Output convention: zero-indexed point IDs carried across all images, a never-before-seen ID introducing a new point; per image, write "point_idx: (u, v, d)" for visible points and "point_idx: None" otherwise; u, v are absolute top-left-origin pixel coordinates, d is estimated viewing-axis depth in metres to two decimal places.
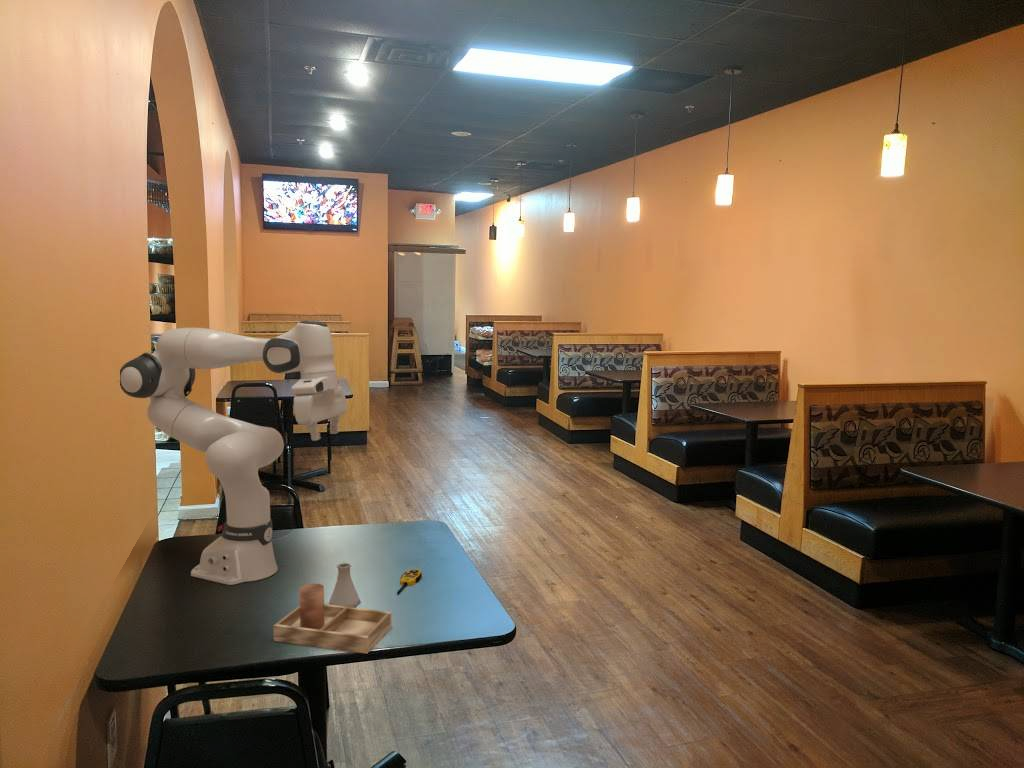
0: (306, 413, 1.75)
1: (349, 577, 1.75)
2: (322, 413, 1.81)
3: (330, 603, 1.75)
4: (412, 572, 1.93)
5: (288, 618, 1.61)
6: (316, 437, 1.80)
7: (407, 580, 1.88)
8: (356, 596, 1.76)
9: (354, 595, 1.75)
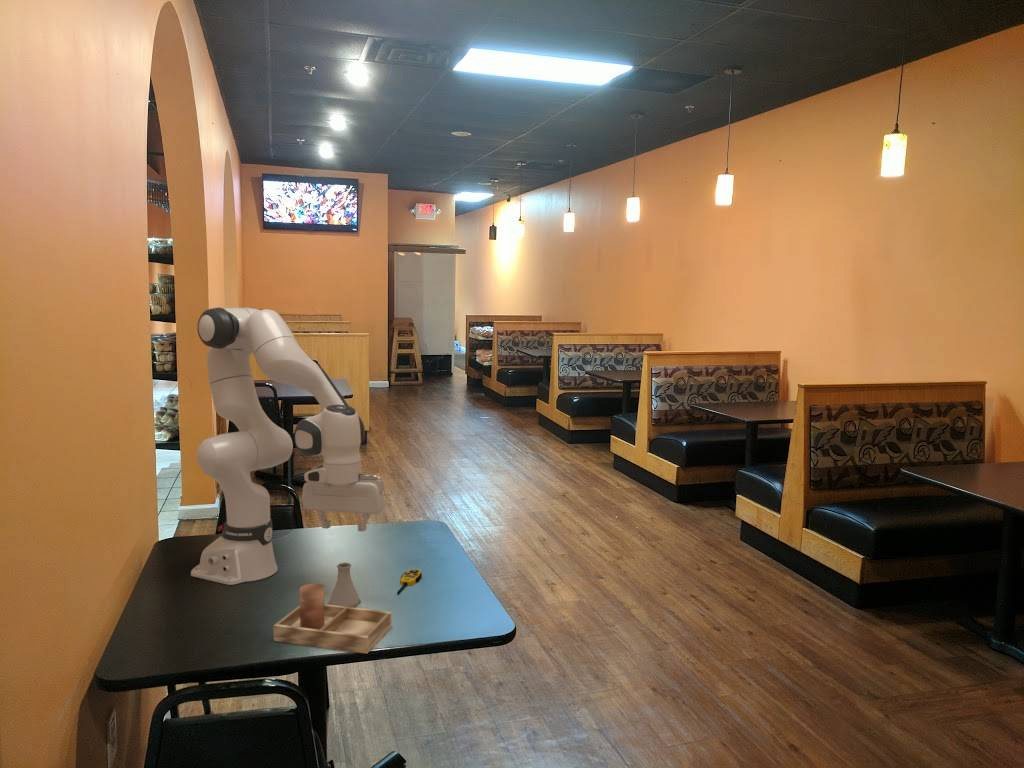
0: None
1: (349, 577, 1.75)
2: (326, 504, 1.72)
3: (330, 603, 1.75)
4: (412, 572, 1.93)
5: (288, 618, 1.61)
6: None
7: (407, 580, 1.88)
8: (356, 596, 1.76)
9: (354, 595, 1.75)
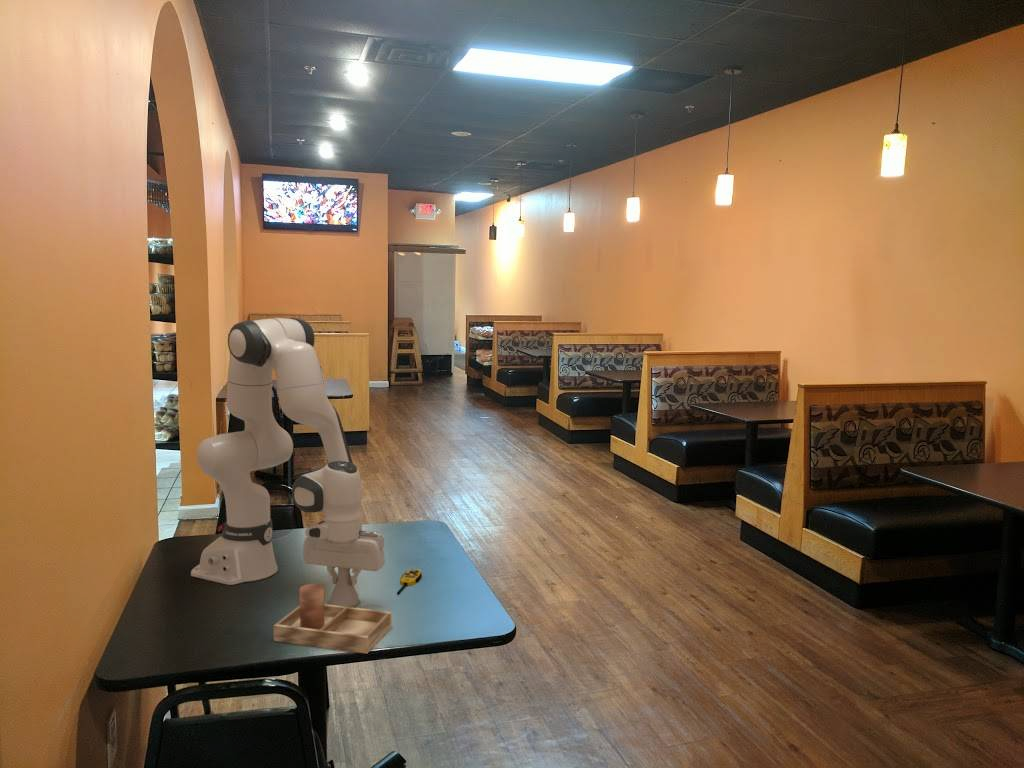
0: None
1: (349, 577, 1.75)
2: (327, 559, 1.74)
3: (330, 603, 1.75)
4: (412, 572, 1.93)
5: (288, 618, 1.61)
6: None
7: (407, 580, 1.88)
8: (356, 596, 1.76)
9: (354, 594, 1.75)
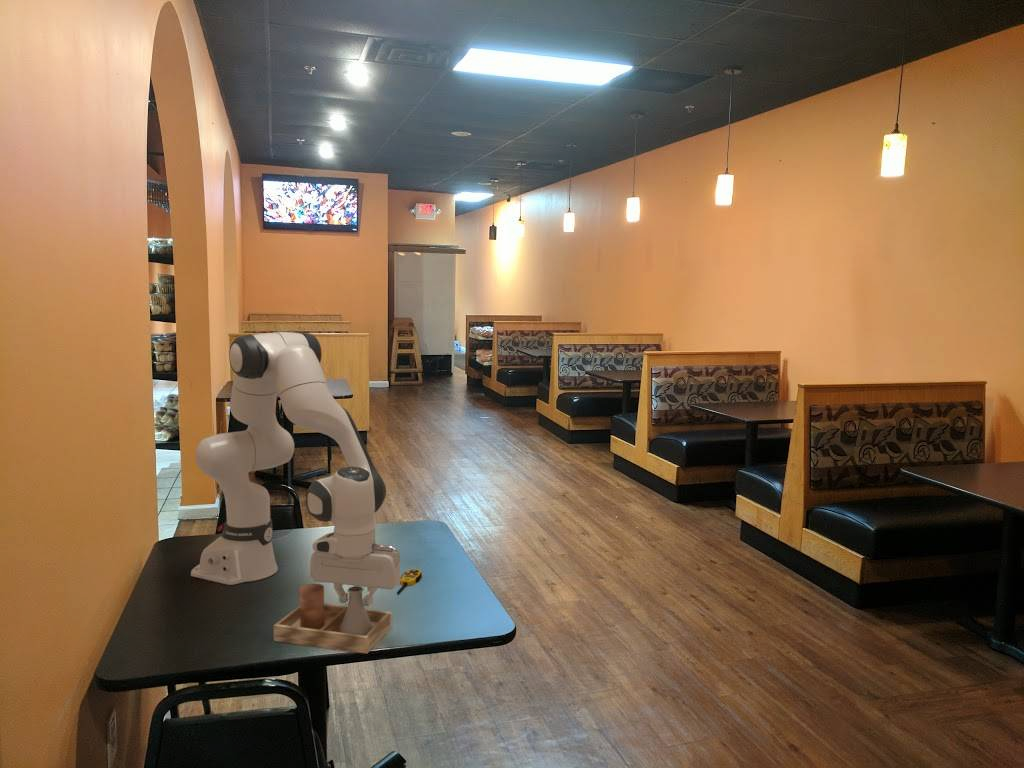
0: None
1: (361, 602, 1.58)
2: (337, 576, 1.57)
3: (340, 631, 1.58)
4: (412, 572, 1.93)
5: (288, 618, 1.61)
6: None
7: (407, 580, 1.88)
8: (369, 623, 1.59)
9: (366, 622, 1.58)
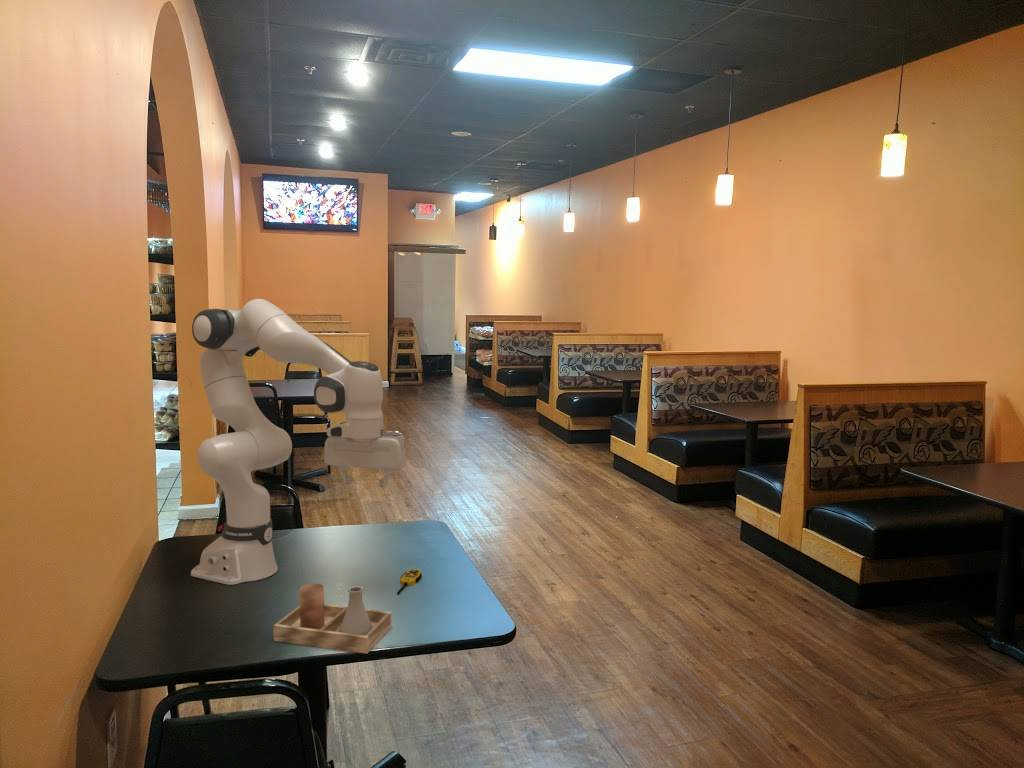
0: None
1: (361, 602, 1.58)
2: (348, 459, 1.74)
3: (340, 631, 1.58)
4: (412, 572, 1.93)
5: (288, 618, 1.61)
6: None
7: (407, 580, 1.88)
8: (369, 623, 1.59)
9: (366, 622, 1.58)
